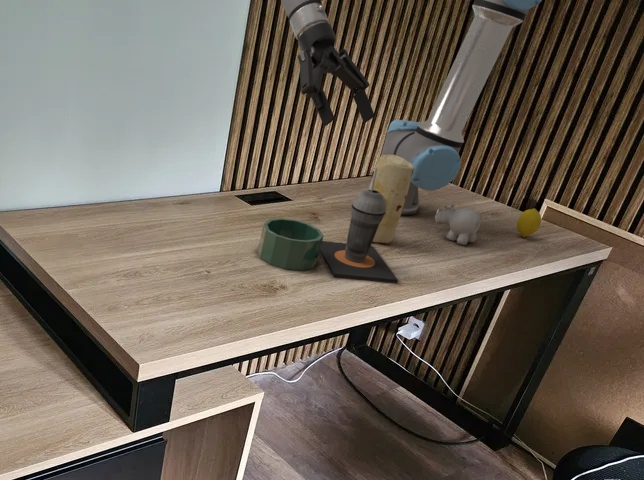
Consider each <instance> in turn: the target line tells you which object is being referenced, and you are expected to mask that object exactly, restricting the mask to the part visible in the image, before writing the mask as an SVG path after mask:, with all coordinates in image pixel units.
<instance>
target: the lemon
mask: <svg viewBox="0 0 644 480" xmlns="http://www.w3.org/2000/svg"><path fill="white" fill-rule="evenodd" d="M541 223H542V215H541V214H540V212H539V211H538V210H537V209H536V208H529V209H526V210H524V211H523V212H522V213H520V215H519V216H518V218H517V221H516V225H515V226H516V231H517V232H518V233H519V234H520V237H522V238H525V237H528V236H532V235H534V234H535V233H536V232H537V231H538V230H539V228H540V226H541Z"/></svg>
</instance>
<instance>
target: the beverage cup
mask: <svg viewBox="0 0 644 480" xmlns="http://www.w3.org/2000/svg"><path fill="white" fill-rule="evenodd" d="M373 171H374V174H373V175H372V178H373V180H372V179H371V181H372V185H371V190H366V189H365V190H363V191H362V192H361V191H360V193H358V195H356V197H355V198H354V200H353V203H352V204H351V213H350V216H351V217H350V223H349V228H348V233H347V234H348V235H347V239H346V243H347V244H346V249H345V250H346V251H345V256H344V257H345V258H346V259H347V260H349V261H352V262H356V263H362V262H364V261H365V259H366V256H367V254H368V252H369V249H370V247H371V246H372V244H373V243H374V242H373V239H374V237H375V234H376V232H377V229H378V227H379V224H380V222H381V221H382V219H383V217H384V215H385V213H386V201H385V198H384V197H383V195H382V194H381V193H380V192H378V191H376V190H373V188H374V182H375V177H376V172H377V168H376V167H374V170H373Z"/></svg>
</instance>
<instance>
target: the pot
mask: <svg viewBox="0 0 644 480" xmlns="http://www.w3.org/2000/svg"><path fill="white" fill-rule="evenodd" d="M324 237H325V236H324V233H323V232H322V230H321V229H320V228H318V227H316V226H314V225H312V224H311V223H307V222H304V221H301V220H297V219H290V218H281V217H279V218H270V219H268V220H266V221H265V222H264V223H263V224H262V229H261V233H260V239H259V245H258V248H257V254H258V256H259V258H260V259H261V260H263V261H265V262H266V263H268V264H269V265H272V266H275V267H278V268H281V269H284V270H293V271H305V270H309V269H313V268H314V267H315V266H316V265H317V263H318V259H319V256H320V248H321V244H322V241H324Z"/></svg>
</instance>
